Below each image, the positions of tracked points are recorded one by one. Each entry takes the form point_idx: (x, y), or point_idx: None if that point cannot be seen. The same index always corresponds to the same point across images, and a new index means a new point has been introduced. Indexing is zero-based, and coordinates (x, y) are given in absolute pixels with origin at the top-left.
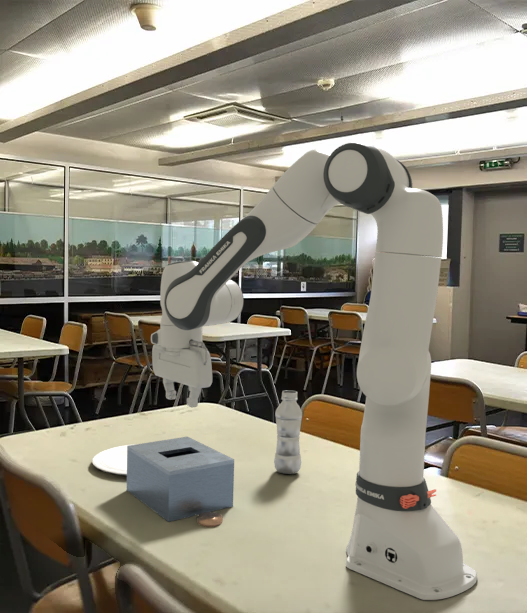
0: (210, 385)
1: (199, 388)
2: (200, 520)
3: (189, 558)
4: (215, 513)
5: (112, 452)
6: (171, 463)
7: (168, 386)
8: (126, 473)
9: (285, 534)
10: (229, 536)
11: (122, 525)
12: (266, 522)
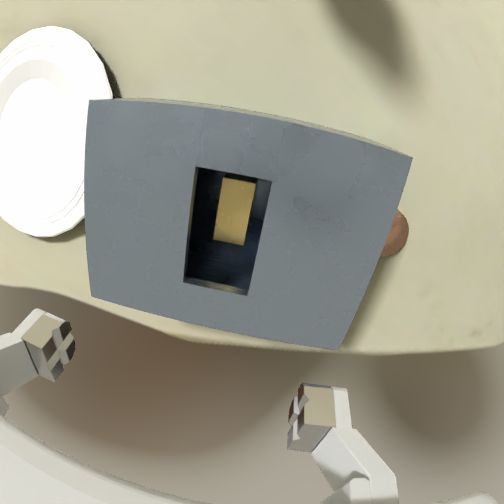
0: (489, 496)
1: (390, 496)
2: (381, 256)
3: (427, 328)
4: None
5: None
6: (296, 316)
7: (11, 376)
8: (82, 216)
9: (500, 182)
10: (441, 249)
11: None
12: (460, 161)
